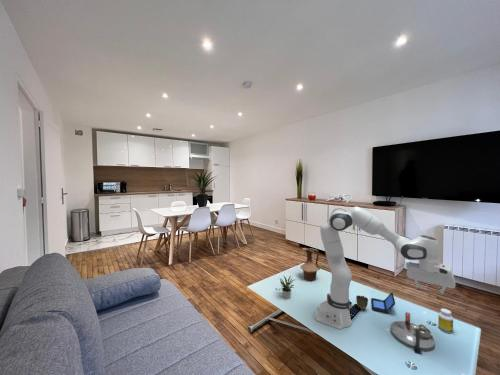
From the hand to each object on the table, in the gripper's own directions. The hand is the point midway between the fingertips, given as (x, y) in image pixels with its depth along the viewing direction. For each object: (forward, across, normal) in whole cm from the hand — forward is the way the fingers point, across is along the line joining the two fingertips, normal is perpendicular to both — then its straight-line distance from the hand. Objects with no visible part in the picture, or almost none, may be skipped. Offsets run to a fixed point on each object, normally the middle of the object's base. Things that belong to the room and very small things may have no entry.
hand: (429, 290), depth 115 cm
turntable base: (+29, -8, -3) cm, 30 cm away
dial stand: (+29, -5, -11) cm, 31 cm away
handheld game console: (+29, -28, +17) cm, 44 cm away
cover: (+26, -4, -1) cm, 27 cm away
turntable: (+28, -8, -3) cm, 29 cm away
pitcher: (+27, -86, +20) cm, 93 cm away
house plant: (+26, -83, -19) cm, 89 cm away
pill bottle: (+30, +5, +18) cm, 35 cm away
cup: (+28, -37, +5) cm, 47 cm away
